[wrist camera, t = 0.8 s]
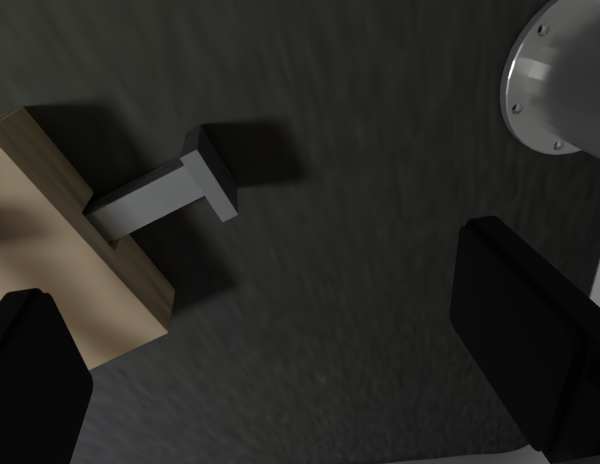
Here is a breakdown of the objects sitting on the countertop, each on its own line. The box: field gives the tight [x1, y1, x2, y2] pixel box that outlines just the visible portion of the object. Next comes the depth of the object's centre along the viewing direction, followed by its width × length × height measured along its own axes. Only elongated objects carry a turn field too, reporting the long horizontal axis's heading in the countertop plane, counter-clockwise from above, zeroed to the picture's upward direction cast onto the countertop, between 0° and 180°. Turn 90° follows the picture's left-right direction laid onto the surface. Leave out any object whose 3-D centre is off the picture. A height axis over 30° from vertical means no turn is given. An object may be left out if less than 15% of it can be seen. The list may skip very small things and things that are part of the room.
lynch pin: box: [82, 125, 238, 244], centre depth 31 cm, size 16×5×5 cm, turn 115°
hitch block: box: [0, 107, 175, 370], centre depth 32 cm, size 8×18×5 cm, turn 25°
